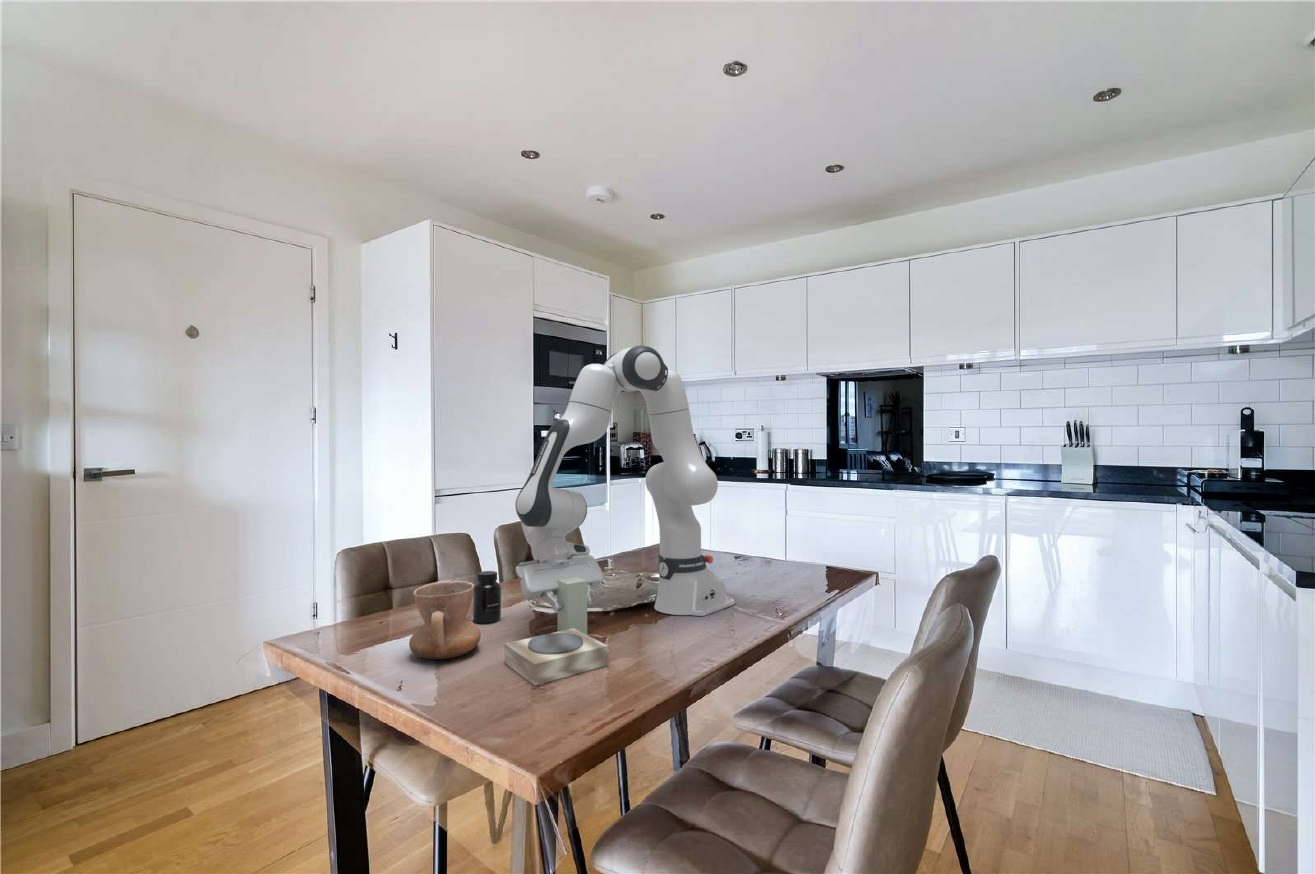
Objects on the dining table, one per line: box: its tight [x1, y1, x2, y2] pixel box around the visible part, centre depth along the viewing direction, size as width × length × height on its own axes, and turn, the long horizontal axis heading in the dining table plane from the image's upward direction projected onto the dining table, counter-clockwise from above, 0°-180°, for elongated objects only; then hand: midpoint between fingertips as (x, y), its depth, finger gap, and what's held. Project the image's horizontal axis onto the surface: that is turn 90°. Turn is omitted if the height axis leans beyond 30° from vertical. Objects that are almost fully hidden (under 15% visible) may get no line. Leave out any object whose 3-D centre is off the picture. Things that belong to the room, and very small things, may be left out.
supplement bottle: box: [472, 570, 502, 625], centre depth 153 cm, size 7×7×12 cm
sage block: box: [556, 577, 588, 635], centre depth 141 cm, size 5×5×13 cm
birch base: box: [504, 628, 609, 686], centre depth 124 cm, size 16×14×5 cm
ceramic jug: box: [408, 580, 482, 660], centre depth 130 cm, size 18×14×14 cm
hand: (573, 607), depth 140 cm, fingers open, 6 cm apart
